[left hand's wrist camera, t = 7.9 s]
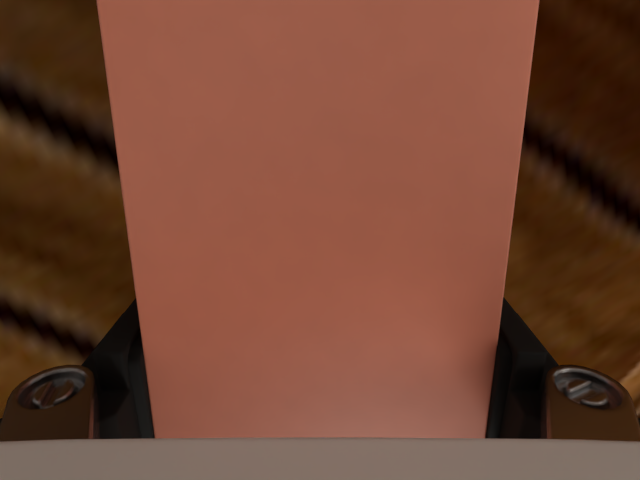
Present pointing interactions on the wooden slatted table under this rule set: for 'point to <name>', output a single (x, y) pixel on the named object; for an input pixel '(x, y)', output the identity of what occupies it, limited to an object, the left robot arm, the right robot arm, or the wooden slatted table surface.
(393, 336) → the cabinet
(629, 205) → the wooden slatted table surface
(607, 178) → the wooden slatted table surface
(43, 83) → the wooden slatted table surface
